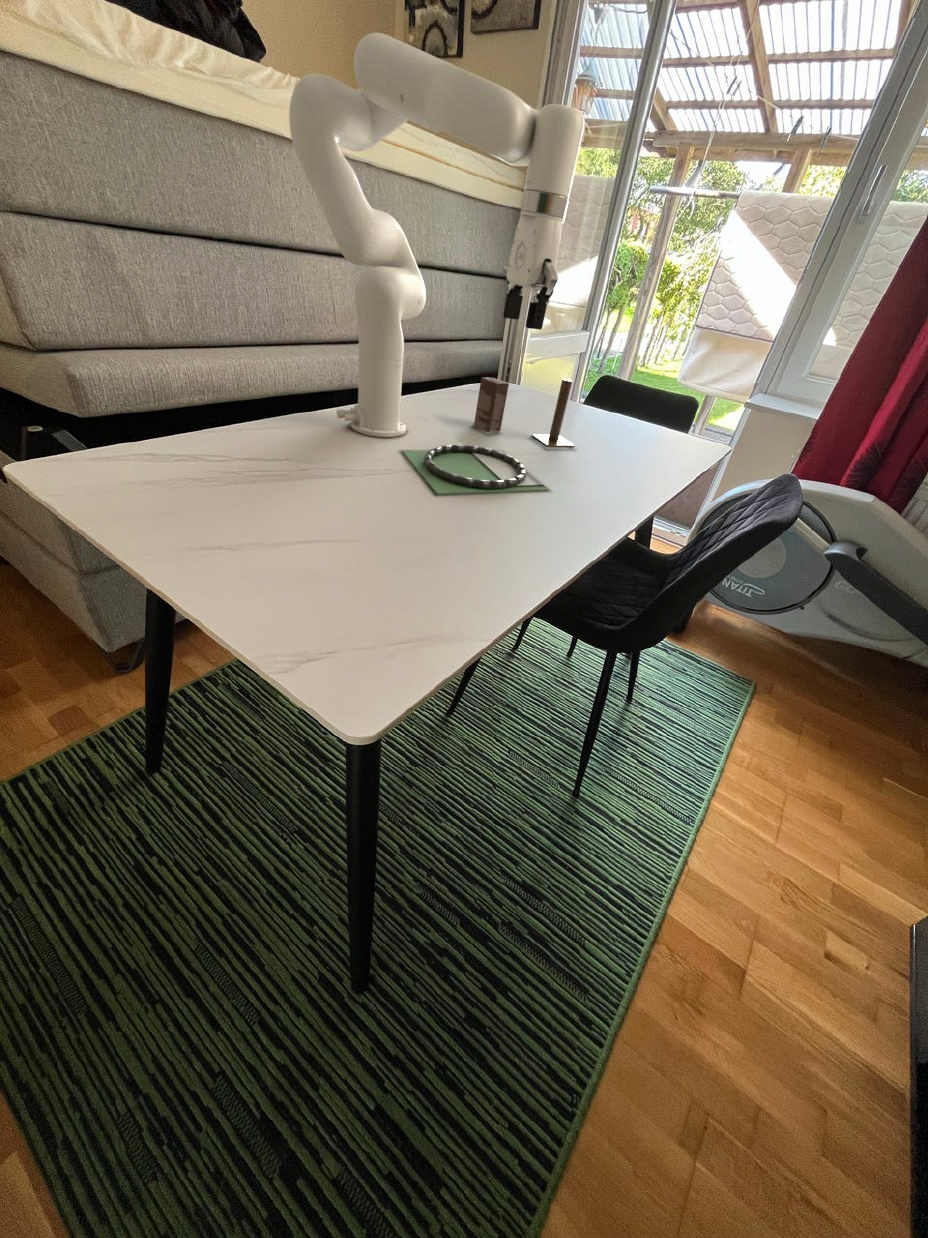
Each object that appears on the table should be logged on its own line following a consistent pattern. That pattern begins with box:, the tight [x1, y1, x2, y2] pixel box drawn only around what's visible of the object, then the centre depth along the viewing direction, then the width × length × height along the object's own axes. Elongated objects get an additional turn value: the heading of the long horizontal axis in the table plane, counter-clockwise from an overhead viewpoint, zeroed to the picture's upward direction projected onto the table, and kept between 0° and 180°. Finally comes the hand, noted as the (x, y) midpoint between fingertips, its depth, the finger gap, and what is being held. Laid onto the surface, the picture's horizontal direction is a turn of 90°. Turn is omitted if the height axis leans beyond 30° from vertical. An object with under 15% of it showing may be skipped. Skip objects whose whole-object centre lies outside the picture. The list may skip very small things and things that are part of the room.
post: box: [531, 378, 576, 448], centre depth 125 cm, size 8×8×15 cm
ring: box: [424, 444, 528, 489], centre depth 106 cm, size 21×21×2 cm
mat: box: [401, 449, 549, 496], centre depth 107 cm, size 24×22×1 cm
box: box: [473, 377, 510, 433], centre depth 128 cm, size 6×4×12 cm
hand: (521, 323), depth 97 cm, fingers open, 9 cm apart
